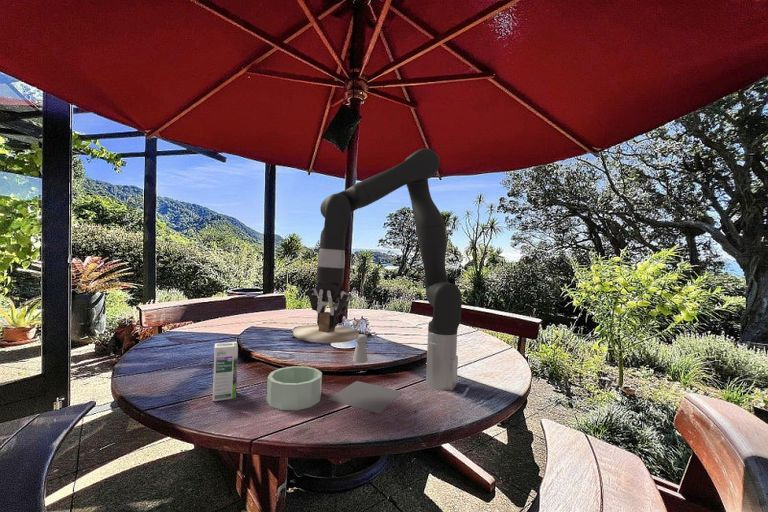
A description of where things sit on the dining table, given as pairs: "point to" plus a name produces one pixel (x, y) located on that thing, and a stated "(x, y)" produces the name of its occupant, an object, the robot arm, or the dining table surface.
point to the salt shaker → (360, 350)
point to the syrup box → (225, 371)
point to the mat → (366, 396)
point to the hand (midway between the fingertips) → (326, 327)
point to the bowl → (294, 387)
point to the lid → (325, 331)
